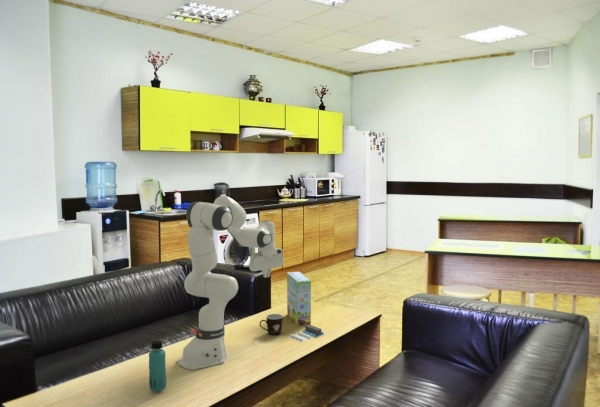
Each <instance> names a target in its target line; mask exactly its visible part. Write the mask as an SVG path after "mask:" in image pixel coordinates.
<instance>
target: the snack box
mask: <svg viewBox="0 0 600 407" xmlns="http://www.w3.org/2000/svg"><path fill="white" fill-rule="evenodd" d="M311 286H312V280H311V279H310V278H307V276H306V275H305V274H303V273H302V272H301V271H292V272H291V271H289V272H286V290H287V291H286V304H287V306H286V307H287V308H286V309H287V311H286V312H287V313H286V314H287V316H288V317H289V318H290V319H291V321H292V322H294V323H295V324H296V325H297V326H302V325H303V326H306V325H312V324H311V323H312V322H311V320H312V311H311V310H312V309H311V308H312V304H311V303H312V302H311V301H312V299H311V298H312V297H311V296H312V294H311V290H312V287H311Z"/></svg>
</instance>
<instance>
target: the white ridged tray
mask: <svg viewBox="0 0 600 407" xmlns="http://www.w3.org/2000/svg"><path fill="white" fill-rule="evenodd" d="M326 334H327V333H325V332H324V331H322V330H321V335H318V336H316V334H313V333H311V332H308V331H306V330H305V329H304V330H302V331H298V332H297V333H294V334H293V333H290V334H289V335H288V336H287V338H289V339H292V340H294V341H295V342H298V343H304V342H307V341H309V340H313V339H315V338H319V337H321V336H323V335H326Z"/></svg>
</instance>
